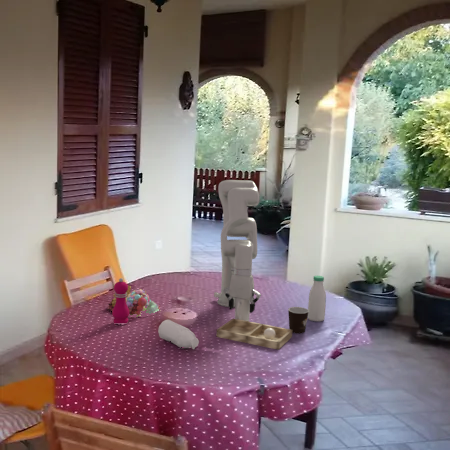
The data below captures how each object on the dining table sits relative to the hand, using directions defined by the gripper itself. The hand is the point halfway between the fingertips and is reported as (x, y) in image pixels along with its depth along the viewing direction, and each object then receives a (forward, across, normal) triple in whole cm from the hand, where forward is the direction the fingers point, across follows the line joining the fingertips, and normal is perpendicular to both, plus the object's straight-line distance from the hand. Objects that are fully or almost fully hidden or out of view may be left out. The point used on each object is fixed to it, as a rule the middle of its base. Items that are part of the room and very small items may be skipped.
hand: (241, 310), depth 257 cm
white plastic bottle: (+7, -12, -33) cm, 36 cm away
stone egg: (+6, +18, -12) cm, 23 cm away
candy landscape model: (+6, -51, -6) cm, 52 cm away
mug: (+7, 0, +1) cm, 7 cm away
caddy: (+7, +12, -12) cm, 18 cm away
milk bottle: (+6, +26, +25) cm, 37 cm away
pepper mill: (+7, -46, -25) cm, 52 cm away
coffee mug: (+7, +26, +5) cm, 27 cm away
